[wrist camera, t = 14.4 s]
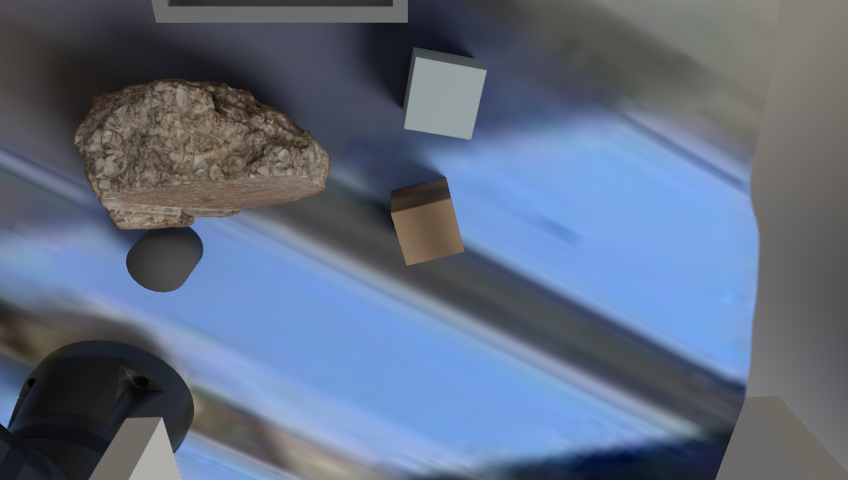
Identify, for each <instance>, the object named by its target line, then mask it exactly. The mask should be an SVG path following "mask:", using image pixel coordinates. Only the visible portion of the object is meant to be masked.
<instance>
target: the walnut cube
mask: <svg viewBox="0 0 848 480" xmlns="http://www.w3.org/2000/svg"><path fill="white" fill-rule="evenodd" d="M391 216H392V219H393V222H394V226H395V229H396V232H397V235H398V238H399V242H400V245H401V248H402V251H403V255H404V258H405V261H406V264H407V265H411V264H415V263H419V262H424V261H428V260H432V259H436V258H440V257H444V256H448V255H452V254H456V253H461V252H464V248H463V244H462V240H461V236H460V232H459V228H458V224H457V220H456V216H455V212H454V208H453V204H452V200H451V196H450V192H449V187H448V183H447V179H446V177H445V178H441V179H437V180H433V181H429V182H425V183H421V184H417V185H414V186H410V187H406V188H402V189H398V190H394V191H391Z"/></svg>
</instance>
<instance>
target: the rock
mask: <svg viewBox="0 0 848 480" xmlns="http://www.w3.org/2000/svg"><path fill="white" fill-rule="evenodd" d="M92 103H93V106H92V108H91V109H90V110H89V112H88V113H87V114H86V116H85V117H84V118H83V121H82V124H81V125H80V126H79V127H78V129H77V130H76V131H75V133H74V138H73V140H74V143H75V145H76V146H77V148H78V154H79V155H80V156H81V158H82V159H83V160H84V162H85V176H86V177H87V180H88V181H89V182H90V185H91V188H92V190H93V192H94V195H95V197H97V198H98V199H99V200H100V204H101V205H102V206H105V207H106V209H107V210H108V211H109V212H108V214H109V215H110V216H111V217H112V219H113V223H114V224H115V225H116V226H117V227H118V228H119V229H159V228H168V227H186V226H189V225H192V224H193V222H194V218H193V217H225V216H231V215H233V214H237V213H239V211H240V210H243V209H255V208H263V207H269V206H274V205H283V204H287V203H292V202H295V201H297V200H300V199H303V198H306V197H310V196H313V195H316V194H319V193H320V192H321V191H322V190H323V189H325V188H326V186H325V182H326V177H327V174H328V172H329V170H330V165H331V163H330V156H329V155H328V153H327V152H326V150H325V149H324V148H322V147H321V146H320V144H319V143H318V142H317V141H316V140H315V139H314V138H313V136H312V134H311V132H310V131H309V130H306V131H305V132H304V131H303V130H302V129H301V128H299V127H297V126H296V124H295V123H294V122H293V121H292V120H291V119H290V118H289V117H288V116H287V115H285V114H283V113H281V112H279V111H278V110H277V109H276V108H275V107H272V106H268V105H264V104H262V103H260V102H258V101H256V100H255V98H254V97H253V95H252V94H251V92H250V91H249V90H243V89H236V88H232V87H231V86H229V85H228V84H226V83H224V82H223V83H222V82H214V81H204V82H191V81H188V80H186V79H157V80H154V81H152V82H149V83H148V84H136V85H127V86H125V87H124V88H123V89H122V90H121V91H115V92H114V93H102V96H95V97H93V99H92Z"/></svg>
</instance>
